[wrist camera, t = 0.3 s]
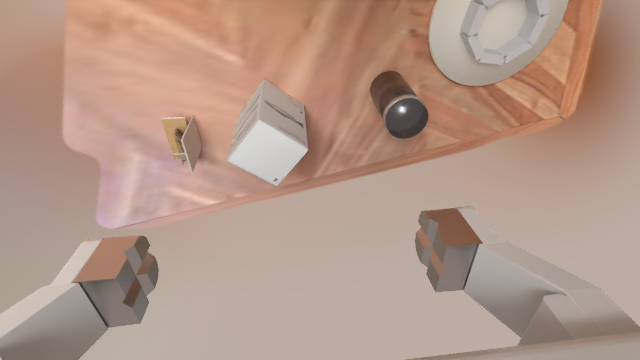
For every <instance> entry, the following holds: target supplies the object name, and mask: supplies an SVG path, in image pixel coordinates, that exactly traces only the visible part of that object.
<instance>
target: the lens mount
mask: <svg viewBox="0 0 640 360" xmlns="http://www.w3.org/2000/svg"><path fill="white" fill-rule="evenodd" d="M568 1H569V0H435V3H434V6H433V8H432V12H431V15H430V19H429V26H428V44H429V50H430V54H431V56H432V59H433V61H434V63H435V64H436V66H437V67H438V68H439V70H440V71H441V72H442V73H443V74H444V75H445V76H447V77H448V78H449V79H451V80H453V81H455V82H457V83H459V84H462V85H468V86H483V85H488V84H493V83H496V82H499V81H502V80H504V79H506V78H508V77H510V76H512V75H514V74H515V73H517V72H518V71H520V70H521V69H523V68H524V67H526V66H527V65H528V64H529V63H530V62H532V61H533V60H534V59H535V58H536V57H537V56H538V55H539V54H540V53H541V52H542V50H543V49H544V48H545V47H546V46H547V44H548V43H549V42H550V40H551V39H552V37H553V36H554V34H555V32H556V31H557V29H558V27H559V25H560V23H561V21H562V19H563V16H564V14H565V11H566V8H567V4H568Z"/></svg>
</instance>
